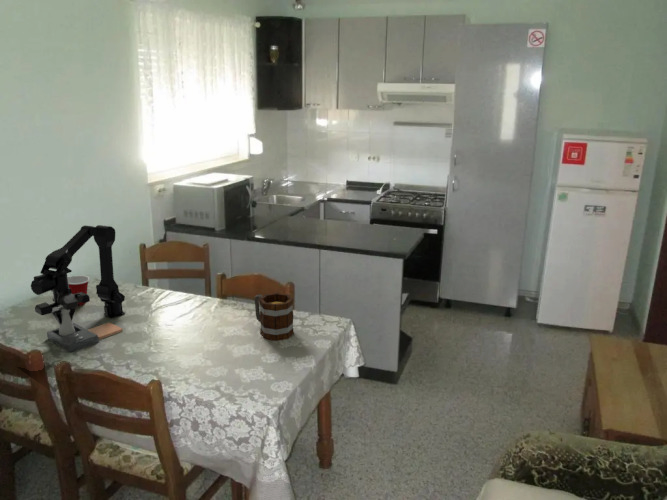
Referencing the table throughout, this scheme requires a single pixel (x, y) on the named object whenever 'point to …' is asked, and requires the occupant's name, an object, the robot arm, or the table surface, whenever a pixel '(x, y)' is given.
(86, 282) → the plastic cup
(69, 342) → the grey rectangular device
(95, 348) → the table surface
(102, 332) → the terracotta coaster
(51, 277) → the robot arm
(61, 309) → the salt shaker
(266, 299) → the mug
